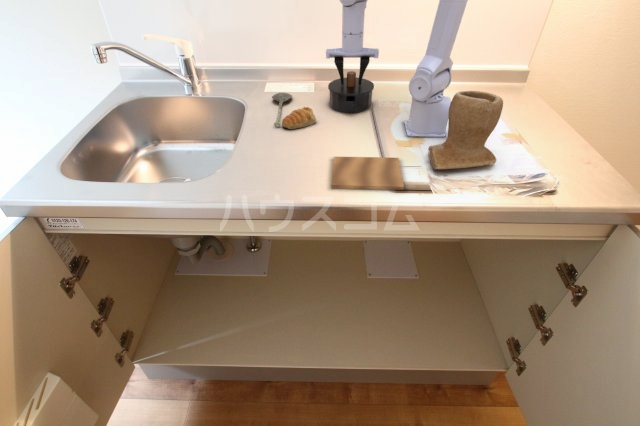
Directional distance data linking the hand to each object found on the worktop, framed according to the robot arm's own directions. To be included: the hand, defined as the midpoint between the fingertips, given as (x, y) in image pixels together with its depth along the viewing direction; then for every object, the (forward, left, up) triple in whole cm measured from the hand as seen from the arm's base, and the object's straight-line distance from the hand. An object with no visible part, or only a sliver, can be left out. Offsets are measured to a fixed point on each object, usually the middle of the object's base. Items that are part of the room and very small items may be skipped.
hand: (351, 83), depth 94 cm
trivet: (-4, +37, -6) cm, 38 cm away
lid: (0, 0, -1) cm, 1 cm away
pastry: (+14, +13, -7) cm, 20 cm away
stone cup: (-25, +30, -7) cm, 40 cm away
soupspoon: (+21, +5, -7) cm, 23 cm away
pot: (0, 0, -6) cm, 6 cm away
